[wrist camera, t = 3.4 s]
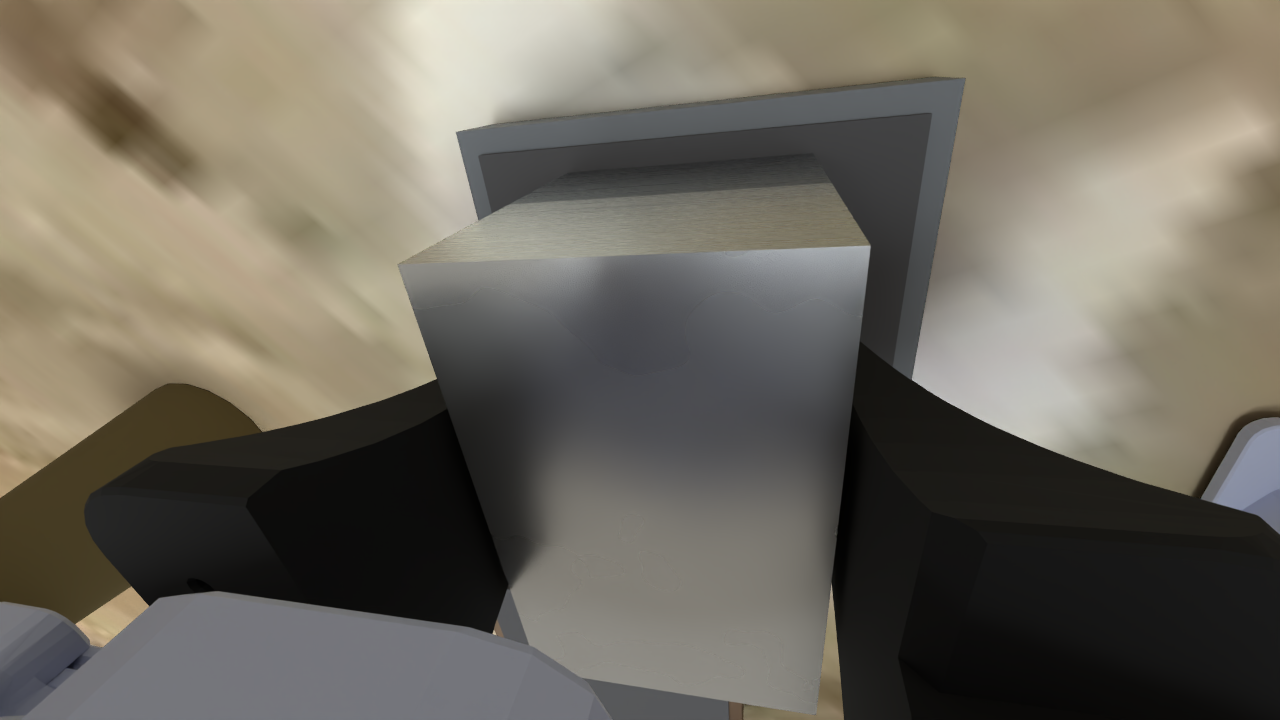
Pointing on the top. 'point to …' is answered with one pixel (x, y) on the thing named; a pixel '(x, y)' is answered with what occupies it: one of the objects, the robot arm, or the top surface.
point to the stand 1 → (762, 127)
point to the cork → (56, 495)
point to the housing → (659, 414)
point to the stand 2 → (631, 687)
